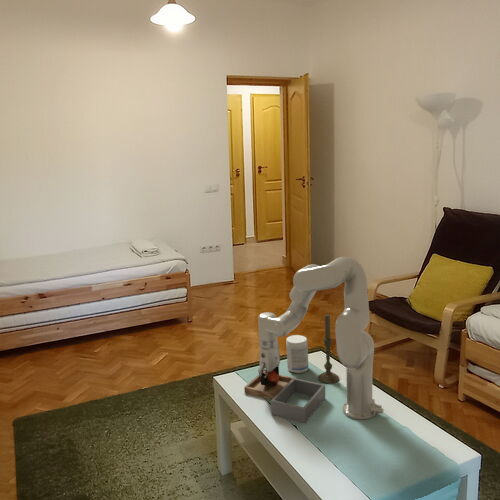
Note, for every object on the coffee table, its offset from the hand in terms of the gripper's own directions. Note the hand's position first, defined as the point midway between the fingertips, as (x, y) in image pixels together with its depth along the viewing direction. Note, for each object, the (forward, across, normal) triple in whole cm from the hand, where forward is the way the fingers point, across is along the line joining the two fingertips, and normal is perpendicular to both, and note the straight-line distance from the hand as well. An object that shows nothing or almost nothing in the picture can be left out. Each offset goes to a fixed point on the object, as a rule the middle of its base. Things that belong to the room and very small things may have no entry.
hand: (270, 380), depth 203 cm
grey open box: (+4, -8, -17) cm, 19 cm away
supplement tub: (+4, +21, -3) cm, 22 cm away
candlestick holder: (+4, +18, -19) cm, 26 cm away
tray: (+4, 0, 0) cm, 4 cm away
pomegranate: (+3, 0, 0) cm, 3 cm away
